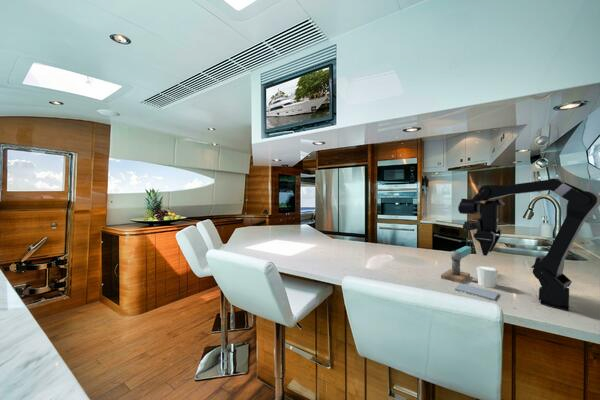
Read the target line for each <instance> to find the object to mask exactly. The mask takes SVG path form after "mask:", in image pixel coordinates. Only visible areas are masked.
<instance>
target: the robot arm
mask: <svg viewBox="0 0 600 400" xmlns="http://www.w3.org/2000/svg"><path fill="white" fill-rule="evenodd" d="M546 191H547V192H548V191H551V192H554V193H555V194H556V195H558V196H560V197H561V198H563V199H564V200H566V201H567V204H566V210H565V213H566V215H565V218H564V220H563V222H562V224H561V226H560V228H559V229H558V232H557V234H556V236H555V238H554V239H553V242H552V243H551V245H550V247H549V249H548V252H547V253H546V255H539V256H537V257H535V261H534V264H533V265H532V266H530V268H531V269H532V274H533V276H534V277H535V278H536V279H537V280H538V282H539V284H540V286H539V288H538V300H539V303H540V304H541V305H544V306H549V307H553V308H557V309H561V310H564V311H570V288H569V287H570V286H571V285H572V282H573V281H572V280H571V279H570V278H569V277H567V276H566V274H564V267H565V258H566V256H567V255H568V253H569V251H570V248H571V247H572V245H573V243H574V242H575V240H576V238H577V236H578V234H579V233H580V230H581V228H582V227H583V225H584V222H585V221H586V220H587V219H588V218H590V216H592V215H593V213H594V212H595V211H596V210H597V209H598V208H599V207H600V194H599V193H598V192H595V191H591V190H590V191H589V190H584V189H582V188H579V187H577V186H575V185H572V184H570V183H567V182H566V181H564V180H563V179H560V178H549V179H544V180H543V179H542V180H537V181H529V182H522V183H515V184H514V183H513V184H502V185H501V184H499V185H498V184H484V185H482V186H480V188H479V189H478V191H477V193H476V195H474V197H473V198H461V199H460V202H459V204H458V209H457V210H458V213H459V214H462V215H473V216H474V215H475V216H476V215H478V214H479V217H478V218H477V221H470V220H467V221H464V223H463V224H462V229H463V230H464V232H466V233H468V232H469V231H474V230H475V231H474V232H473V237H472V238H473V239H474V240H475V241H477V242H478V243H479V244H480V245H479V246H480V249H481V252H482V256H483V257H484V256H485V257H486V256H488V254H489V253H492V252H493V250H494V249H495V247H496V245H497V243H498V242H499V239H500V238H501V237H502V236H501V235H503V234H502V232H503V231H502V229H501V228H500V227H498V225H499V224H498V222H499V221H500V220H499V206H505V205H506V203H505V202H504V201H502V200H501V199H500V198H505V197H507V196H510V195H520V194H528V193H536V192H537V193H538V192H546Z"/></svg>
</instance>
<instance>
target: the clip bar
mask: <svg viewBox="0 0 600 400" xmlns="http://www.w3.org/2000/svg"><path fill="white" fill-rule="evenodd" d="M450 254H451V256H450V257H451V260H452V259H453V260H458V261H460V262H461V261H462V259H464V258H465V257H467V256H469V255H471V254H472V247H471V246H469V245H465V246H463V247H460V248H458V249H456V250H451V253H450Z"/></svg>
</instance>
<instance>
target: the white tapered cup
mask: <svg viewBox="0 0 600 400" xmlns="http://www.w3.org/2000/svg"><path fill="white" fill-rule="evenodd" d="M498 271H499V270H498V269H497V268H495V267H491V266H487V265H478V266H476V274H477V275H476V276H477V284H478V285H479V286H481V287H484V286H485V288H492V289H493V288H496V285H497V278H498V273H499V272H498Z"/></svg>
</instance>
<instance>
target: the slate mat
mask: <svg viewBox="0 0 600 400" xmlns="http://www.w3.org/2000/svg"><path fill="white" fill-rule="evenodd" d="M454 291H458V292H460V291H462V292H461V293H464V292H466V293H465V294H468V293H471V294H473V295H472V296H475V295H476V296H475V297H479V298H483V299H487V300H490V301H494V302H495V301H496V300H497V298H498V296H499V292H497V291H492V290H490V289H489V290H488V289H485V288H482V287H476V286H473V285H469V284H465V283H459V284H458V286H456V287H455V288H454ZM471 294H470V295H471Z"/></svg>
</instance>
